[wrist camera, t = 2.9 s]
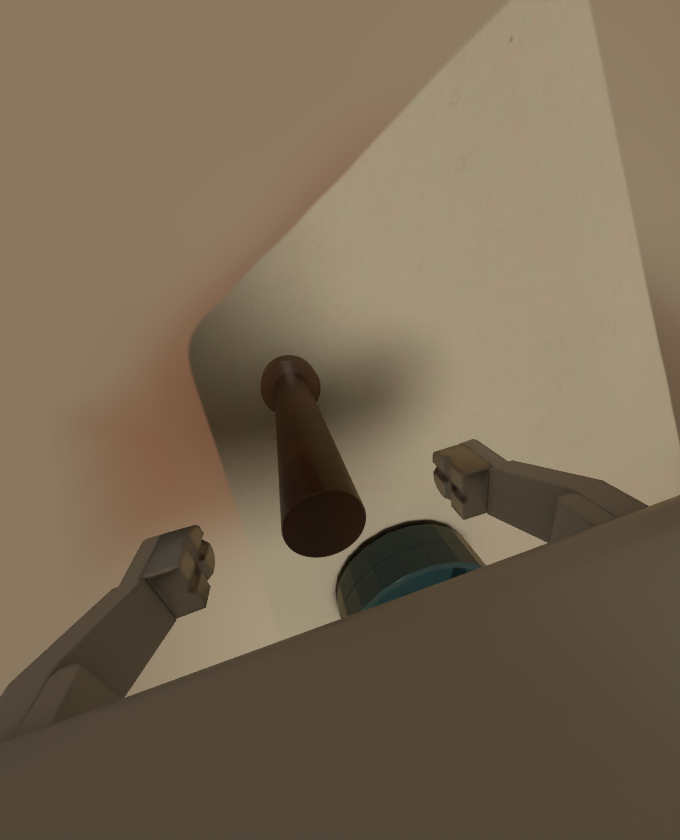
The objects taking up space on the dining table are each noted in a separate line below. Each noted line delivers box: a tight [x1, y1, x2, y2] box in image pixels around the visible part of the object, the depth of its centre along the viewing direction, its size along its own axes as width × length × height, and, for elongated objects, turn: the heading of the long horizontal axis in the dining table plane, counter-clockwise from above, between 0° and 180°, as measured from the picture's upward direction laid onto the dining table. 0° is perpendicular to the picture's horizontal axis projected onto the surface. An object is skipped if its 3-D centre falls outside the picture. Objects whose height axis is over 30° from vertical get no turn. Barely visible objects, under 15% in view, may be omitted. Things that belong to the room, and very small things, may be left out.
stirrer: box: [261, 355, 366, 557], centre depth 16 cm, size 4×4×16 cm
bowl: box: [336, 524, 486, 619], centre depth 33 cm, size 18×18×6 cm
